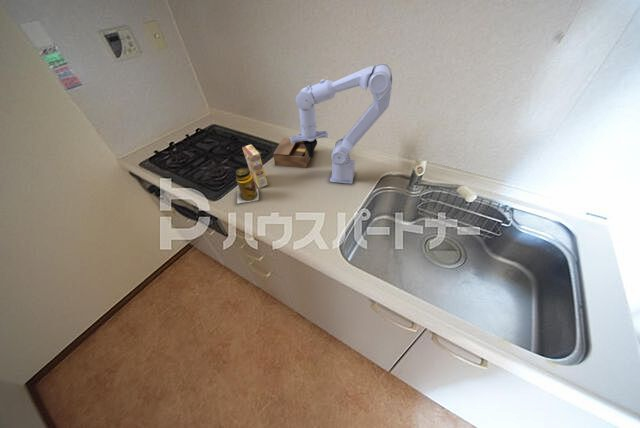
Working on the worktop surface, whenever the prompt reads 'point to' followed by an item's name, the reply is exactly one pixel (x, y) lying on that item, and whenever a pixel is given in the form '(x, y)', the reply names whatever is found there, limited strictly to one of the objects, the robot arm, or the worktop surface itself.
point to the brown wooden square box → (289, 154)
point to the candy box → (255, 165)
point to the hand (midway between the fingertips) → (310, 156)
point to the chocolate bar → (300, 151)
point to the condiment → (246, 186)
